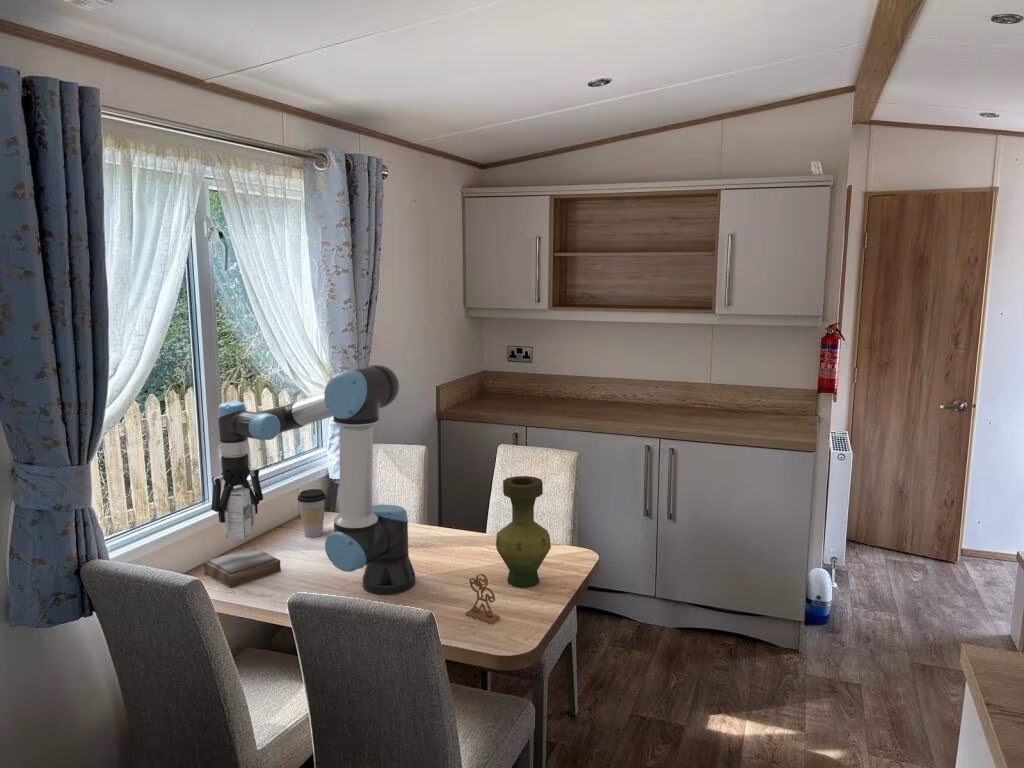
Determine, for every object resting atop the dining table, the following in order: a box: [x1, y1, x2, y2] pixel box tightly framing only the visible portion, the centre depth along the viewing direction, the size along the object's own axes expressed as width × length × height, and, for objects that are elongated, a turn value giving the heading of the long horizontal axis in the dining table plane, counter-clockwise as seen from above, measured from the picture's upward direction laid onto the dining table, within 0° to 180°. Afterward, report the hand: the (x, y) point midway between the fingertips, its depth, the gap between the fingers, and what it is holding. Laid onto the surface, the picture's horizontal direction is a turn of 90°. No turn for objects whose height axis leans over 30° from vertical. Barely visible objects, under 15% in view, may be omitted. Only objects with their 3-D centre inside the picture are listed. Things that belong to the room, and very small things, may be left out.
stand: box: [203, 546, 282, 589], centre depth 229 cm, size 16×16×4 cm
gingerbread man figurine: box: [464, 573, 501, 625], centre depth 198 cm, size 9×4×12 cm, turn 54°
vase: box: [495, 475, 552, 589], centre depth 218 cm, size 16×16×30 cm
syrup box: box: [225, 485, 253, 540], centre depth 226 cm, size 6×6×14 cm
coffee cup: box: [297, 488, 327, 539], centre depth 258 cm, size 9×9×15 cm
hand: (239, 528), depth 227 cm, fingers closed on syrup box, 8 cm apart
